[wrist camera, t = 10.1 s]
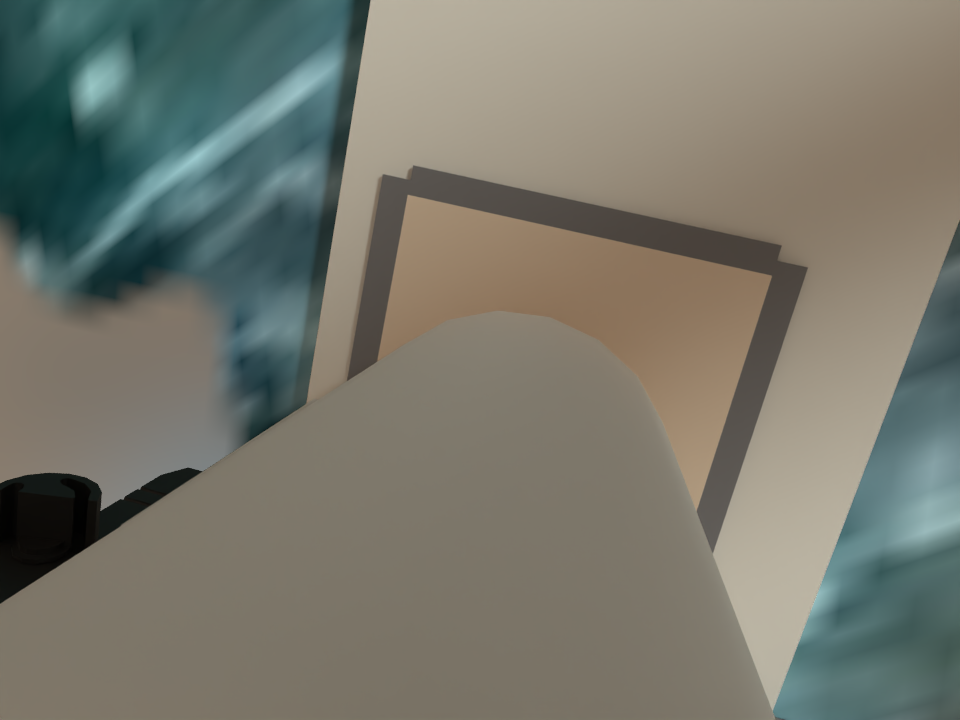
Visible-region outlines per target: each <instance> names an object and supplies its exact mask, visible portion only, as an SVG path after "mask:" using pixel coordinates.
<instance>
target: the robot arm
mask: <svg viewBox="0 0 960 720" xmlns="http://www.w3.org/2000/svg"><path fill="white" fill-rule="evenodd" d="M317 400H318V399H313V400H312V401H310V402H309V403H307V404H305V405H304V406H302V407H301V408H299V409H298V410H296V411H295V412H293V413H292V414H290V415H289V416H287V417H286V418H284V419H282V420H281V421H279V422H278V423H276V424H275V425H273V426H272V427H270V428H269V429H267V430H266V431H264V432H263V433H261V434H259V435H258V436H256V437H255V438H253V439H252V440H250V441H249V442H247V443H246V444H244V445H243V446H241V447H240V448H238V449H236V450H235V451H233V452H232V453H230V454H229V455H227V456H226V457H224V458H223V459H221V460H220V461H218V462H217V463H215V464H214V465H212V466H210V467H209V468H208V469H206V470H204V471H199V470H195V469H191V468H185V469H181V470H178V471H174V472H171V473H167V474H163V475H160V476H159V477H157V478H155V479H154V480H152V481H150V482H149V483H147V484H146V485H144V486H142V487H141V489H140V490H138V489H137V490H135V491H134V492H132V493H130V494H129V495H127V496H125V498H124V500H121V499H120V500H118V501H117V502H115V503H113V504H112V505H110V506H109V507H107V508H105V509H103V510H102V511H100V508H101V495H102V492H101V490H100V488H99V486H98V484H97V483H95V482H93V481H91V480H89V479H88V478H85V477H81V476H77V475H72V474H61V473H43V474H33V475H25V476H22V477H18V478H14V479H10V480H7V481H4V482H2V483H0V604H1V603H2V602H4V601H5V600H7V599H8V598H10V597H12V596H13V595H15V594H16V593H18V592H19V591H21V590H22V589H24V588H26V587H27V586H29V585H30V584H32V583H33V582H35V581H36V580H38V579H40V578H41V577H43V576H44V575H46V574H47V573H49V572H50V571H52V570H54V569H55V568H57V567H58V566H60V565H61V564H63V563H64V562H66V561H68V560H69V559H71V558H72V557H74V556H75V555H77V554H79V553H80V552H82V551H83V550H85V549H86V548H88V547H89V546H91V545H93V544H94V543H96V542H97V541H99V540H100V539H102V538H103V537H105V536H107V535H108V534H110V533H111V532H113V531H114V530H116V529H117V528H119V527H121V526H122V525H124V524H125V523H127V522H128V521H130V520H132V519H133V518H135V517H136V516H138V515H139V514H141V513H142V512H144V511H146V510H147V509H149V508H150V507H152V506H153V505H155V504H156V503H158V502H160V501H161V500H163V499H164V498H166V497H167V496H169V495H170V494H172V493H174V492H175V491H177V490H178V489H180V488H181V487H183V486H184V485H186V484H188V483H189V482H191V481H192V480H194V479H195V478H197V477H199V476H200V475H202V474H203V473H205V472H206V471H208V470H209V469H211V468H213V467H214V466H216V465H217V464H219V463H220V462H222V461H223V460H225V459H227V458H228V457H230V456H231V455H233V454H234V453H236V452H237V451H239V450H241V449H242V448H244V447H245V446H247V445H248V444H250V443H251V442H253V441H255V440H256V439H258V438H259V437H261V436H262V435H264V434H266V433H267V432H269V431H270V430H272V429H273V428H275V427H276V426H278V425H280V424H281V423H283V422H284V421H286V420H287V419H289V418H290V417H292V416H294V415H295V414H297V413H298V412H300V411H301V410H303V409H304V408H306V407H308V406H309V405H311V404H312V403H314V402H315V401H317Z"/></svg>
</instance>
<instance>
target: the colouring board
mask: <svg viewBox="0 0 960 720" xmlns="http://www.w3.org/2000/svg"><path fill="white" fill-rule="evenodd" d="M959 220H960V0H371V2H370V8H369V14H368V21H367V27H366V33H365V39H364V46H363V52H362V58H361V64H360V71H359V77H358V83H357V89H356V96H355V102H354V108H353V114H352V121H351V127H350V133H349V139H348V146H347V152H346V158H345V164H344V171H343V177H342V183H341V189H340V196H339V202H338V208H337V215H336V221H335V227H334V233H333V240H332V246H331V252H330V258H329V265H328V271H327V277H326V283H325V290H324V296H323V302H322V308H321V315H320V321H319V327H318V333H317V340H316V346H315V352H314V358H313V365H312V371H311V377H310V383H309V390H308V396H307V402H306V404H307V403H309V402H310V401H312V400H313V399H318V400H319V399H320V398H322V397H323V396H325V395H326V394H328V393H329V392H331V391H333V390H334V389H336V388H337V387H339V386H340V385H342V384H343V383H345V382H347V381H348V380H350V379H351V378H353V377H354V376H356V375H357V374H359V373H361V372H362V371H364V370H365V369H367V368H368V367H370V366H371V365H373V364H375V363H376V362H378V361H379V360H381V359H382V358H384V357H386V356H387V355H389V354H390V353H392V352H393V351H395V350H396V349H398V348H400V347H401V346H403V345H404V344H406V343H408V342H409V341H411V340H413V339H415V338H417V337H418V336H420V335H422V334H424V333H425V332H427V331H429V330H431V329H432V328H434V327H436V326H438V325H440V324H441V323H443V322H445V321H447V320H451V319H456V318H461V317H466V316H471V315H477V314H482V313H487V312H492V311H497V310H498V311H506V312H514V313H521V314H529V315H537V316H545V317H551V318H553V319H555V320H557V321H559V322H561V323H564V324H566V325H568V326H570V327H572V328H574V329H576V330H579V331H581V332H583V333H585V334H587V335H589V336H591V337H594V338H596V339H598V340H599V341H600V342H601V343H602V344H604V345H605V346H606V347H607V348H608V349H609V350H610V351H611V352H612V353H613V354H614V355H615V356H616V357H618V358H619V359H620V360H621V361H622V362H623V363H624V364H625V365H626V366H627V367H628V368H629V369H630V370H632V371H633V372H634V373H635V374H636V375H637V376H638V378H639V380H640V382H641V383H642V385H643V387H644V389H645V391H646V393H647V394H648V396H649V398H650V400H651V402H652V404H653V405H654V407H655V409H656V411H657V413H658V415H659V416H660V418H661V420H662V422H663V425H664V427H665V430H666V433H667V435H668V438H669V440H670V443H671V446H672V448H673V451H674V454H675V456H676V459H677V461H678V464H679V467H680V469H681V472H682V475H683V477H684V480H685V482H686V485H687V488H688V490H689V493H690V496H691V498H692V501H693V504H694V506H695V509H696V511H697V514H698V517H699V519H700V522H701V525H702V527H703V530H704V532H705V535H706V538H707V540H708V543H709V546H710V548H711V551H712V554H713V556H714V559H715V561H716V564H717V567H718V569H719V572H720V575H721V577H722V580H723V582H724V585H725V588H726V590H727V593H728V596H729V598H730V601H731V603H732V606H733V609H734V611H735V614H736V617H737V619H738V622H739V625H740V627H741V630H742V632H743V635H744V638H745V640H746V643H747V646H748V648H749V651H750V653H751V656H752V659H753V661H754V664H755V667H756V669H757V672H758V674H759V677H760V680H761V682H762V685H763V688H764V690H765V693H766V696H767V698H768V701H769V703H770V706H771V709H772V711H773V708H774V706H775V703H776V701H777V698H778V695H779V693H780V690H781V687H782V685H783V682H784V680H785V677H786V674H787V672H788V669H789V666H790V664H791V661H792V659H793V656H794V653H795V651H796V648H797V645H798V643H799V640H800V638H801V635H802V632H803V630H804V627H805V624H806V622H807V619H808V617H809V614H810V611H811V609H812V606H813V603H814V601H815V598H816V596H817V593H818V590H819V588H820V585H821V582H822V580H823V577H824V575H825V572H826V569H827V567H828V564H829V561H830V559H831V556H832V554H833V551H834V548H835V546H836V543H837V540H838V538H839V535H840V533H841V530H842V527H843V525H844V522H845V519H846V517H847V514H848V512H849V509H850V506H851V504H852V501H853V498H854V496H855V493H856V491H857V488H858V485H859V483H860V480H861V477H862V475H863V472H864V470H865V467H866V464H867V462H868V459H869V456H870V454H871V451H872V449H873V446H874V443H875V441H876V438H877V435H878V433H879V430H880V428H881V425H882V422H883V420H884V417H885V414H886V412H887V409H888V407H889V404H890V401H891V399H892V396H893V393H894V391H895V388H896V386H897V383H898V380H899V378H900V375H901V372H902V370H903V367H904V365H905V362H906V359H907V357H908V354H909V352H910V349H911V346H912V344H913V341H914V338H915V336H916V333H917V331H918V328H919V325H920V323H921V320H922V317H923V315H924V312H925V310H926V307H927V304H928V302H929V299H930V296H931V294H932V291H933V289H934V286H935V283H936V281H937V278H938V275H939V273H940V270H941V268H942V265H943V262H944V260H945V257H946V254H947V252H948V249H949V247H950V244H951V241H952V239H953V236H954V233H955V231H956V228H957V226H958V223H959Z"/></svg>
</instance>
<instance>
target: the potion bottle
mask: <svg viewBox="0 0 960 720" xmlns="http://www.w3.org/2000/svg"><path fill="white" fill-rule="evenodd" d="M0 720H776V719H775V717H774V714H773V711H772V709H771V706H770V703H769V701H768V698H767V696H766V693H765V690H764V688H763V685H762V682H761V680H760V677H759V674H758V672H757V669H756V667H755V664H754V661H753V659H752V656H751V653H750V651H749V648H748V646H747V643H746V640H745V638H744V635H743V632H742V630H741V627H740V625H739V622H738V619H737V617H736V614H735V611H734V609H733V606H732V603H731V601H730V598H729V596H728V593H727V590H726V588H725V585H724V582H723V580H722V577H721V575H720V572H719V569H718V567H717V564H716V561H715V559H714V556H713V554H712V551H711V548H710V546H709V543H708V540H707V538H706V535H705V532H704V530H703V527H702V525H701V522H700V519H699V517H698V514H697V511H696V509H695V506H694V504H693V501H692V498H691V496H690V493H689V490H688V488H687V485H686V482H685V480H684V477H683V475H682V472H681V469H680V467H679V464H678V461H677V459H676V456H675V454H674V451H673V448H672V446H671V443H670V440H669V438H668V435H667V433H666V430H665V427H664V425H663V422H662V420H661V418H660V416H659V415H658V413H657V411H656V409H655V407H654V405H653V404H652V402H651V400H650V398H649V396H648V394H647V393H646V391H645V389H644V387H643V385H642V383H641V382H640V380H639V378H638V376H637V375H636V374H635V373H634V372H633V371H632V370H630V369H629V368H628V367H627V366H626V365H625V364H624V363H623V362H622V361H621V360H620V359H619V358H618V357H616V356H615V355H614V354H613V353H612V352H611V351H610V350H609V349H608V348H607V347H606V346H605V345H604V344H602V343H601V342H600V341H599V340H598V339H596V338H594V337H591V336H589V335H587V334H585V333H583V332H581V331H579V330H576V329H574V328H572V327H570V326H568V325H566V324H564V323H561V322H559V321H557V320H555V319H553V318H551V317H545V316H537V315H529V314H521V313H514V312H506V311H498V310H497V311H492V312H487V313H482V314H477V315H471V316H466V317H461V318H456V319H451V320H447V321H445V322H443V323H441V324H440V325H438V326H436V327H434V328H432V329H431V330H429V331H427V332H425V333H424V334H422V335H420V336H418V337H417V338H415V339H413V340H411V341H409V342H408V343H406V344H404V345H403V346H401V347H400V348H398V349H396V350H395V351H393V352H392V353H390V354H389V355H387V356H386V357H384V358H382V359H381V360H379V361H378V362H376V363H375V364H373V365H371V366H370V367H368V368H367V369H365V370H364V371H362V372H361V373H359V374H357V375H356V376H354V377H353V378H351V379H350V380H348V381H347V382H345V383H343V384H342V385H340V386H339V387H337V388H336V389H334V390H333V391H331V392H329V393H328V394H326V395H325V396H323V397H322V398H320V399H319V400H317V401H315V402H314V403H312V404H311V405H309V406H308V407H306V408H304V409H303V410H301V411H300V412H298V413H297V414H295V415H294V416H292V417H290V418H289V419H287V420H286V421H284V422H283V423H281V424H280V425H278V426H276V427H275V428H273V429H272V430H270V431H269V432H267V433H266V434H264V435H262V436H261V437H259V438H258V439H256V440H255V441H253V442H251V443H250V444H248V445H247V446H245V447H244V448H242V449H241V450H239V451H237V452H236V453H234V454H233V455H231V456H230V457H228V458H227V459H225V460H223V461H222V462H220V463H219V464H217V465H216V466H214V467H213V468H211V469H209V470H208V471H206V472H205V473H203V474H202V475H200V476H199V477H197V478H195V479H194V480H192V481H191V482H189V483H188V484H186V485H184V486H183V487H181V488H180V489H178V490H177V491H175V492H174V493H172V494H170V495H169V496H167V497H166V498H164V499H163V500H161V501H160V502H158V503H156V504H155V505H153V506H152V507H150V508H149V509H147V510H146V511H144V512H142V513H141V514H139V515H138V516H136V517H135V518H133V519H132V520H130V521H128V522H127V523H125V524H124V525H122V526H121V527H119V528H117V529H116V530H114V531H113V532H111V533H110V534H108V535H107V536H105V537H103V538H102V539H100V540H99V541H97V542H96V543H94V544H93V545H91V546H89V547H88V548H86V549H85V550H83V551H82V552H80V553H79V554H77V555H75V556H74V557H72V558H71V559H69V560H68V561H66V562H64V563H63V564H61V565H60V566H58V567H57V568H55V569H54V570H52V571H50V572H49V573H47V574H46V575H44V576H43V577H41V578H40V579H38V580H36V581H35V582H33V583H32V584H30V585H29V586H27V587H26V588H24V589H22V590H21V591H19V592H18V593H16V594H15V595H13V596H12V597H10V598H8V599H7V600H5V601H4V602H2V603H1V604H0Z"/></svg>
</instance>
